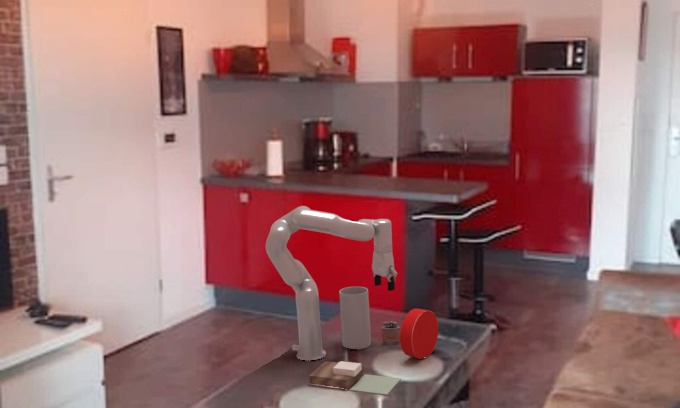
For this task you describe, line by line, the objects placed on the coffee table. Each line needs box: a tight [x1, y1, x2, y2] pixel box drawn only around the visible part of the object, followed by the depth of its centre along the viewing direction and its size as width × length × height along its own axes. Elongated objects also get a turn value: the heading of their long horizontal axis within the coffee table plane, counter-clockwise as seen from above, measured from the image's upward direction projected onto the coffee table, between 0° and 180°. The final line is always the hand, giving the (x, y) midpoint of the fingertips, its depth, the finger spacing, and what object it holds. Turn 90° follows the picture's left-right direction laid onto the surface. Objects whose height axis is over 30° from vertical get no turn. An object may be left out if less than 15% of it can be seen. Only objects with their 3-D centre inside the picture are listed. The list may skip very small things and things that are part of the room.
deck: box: [308, 360, 364, 391], centre depth 288 cm, size 16×15×4 cm
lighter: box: [381, 320, 401, 346], centre depth 323 cm, size 8×3×10 cm, turn 84°
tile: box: [333, 360, 363, 377], centre depth 285 cm, size 9×7×2 cm
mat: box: [349, 373, 402, 396], centre depth 281 cm, size 15×15×1 cm
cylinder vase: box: [338, 286, 372, 351], centre depth 322 cm, size 12×12×25 cm
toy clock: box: [399, 308, 439, 360], centre depth 305 cm, size 20×6×20 cm, turn 141°
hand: (384, 287), depth 312 cm, fingers open, 9 cm apart
